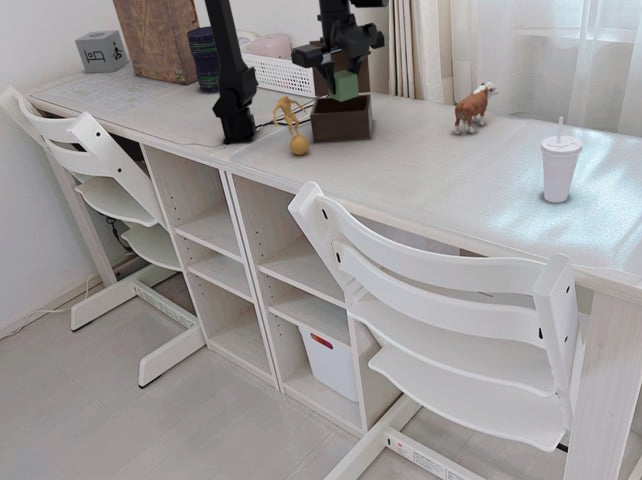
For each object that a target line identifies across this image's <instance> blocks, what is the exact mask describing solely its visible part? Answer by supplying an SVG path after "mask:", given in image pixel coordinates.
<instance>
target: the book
mask: <svg viewBox="0 0 642 480" xmlns="http://www.w3.org/2000/svg"><path fill="white" fill-rule="evenodd" d="M112 2H113V6H114V9H115V13H116V16H117V19H118V22H119V25H120V29H121V32H122V37H123V39H124V42H125V45H126V48H127V51H128V55H129V58H130V61H131V65H132V67H133V71H134V74H135V76H136V77H141V78H142V77H143V78H148V79H153V80H159V81H165V82H168V83H169V82H170V83H176V84H181V85H190V84H193V83H194V82H198V80H197V75H196V66H195V62H194V58H193V56H192V54H191V50H190V47H189V42H188V37H187V32H189V31H191V30H193V29H197V28H201V26H200V21H199V17H198V12H197V8H196V4H195V0H112ZM192 21H196V23H192Z"/></svg>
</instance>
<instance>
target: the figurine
mask: <svg viewBox="0 0 642 480" xmlns="http://www.w3.org/2000/svg"><path fill="white" fill-rule="evenodd" d="M292 104H296V105H297V107H299V108H300V109H301V110H303V112H304V113H305V114H307V111H306V110H305V108H304V107H303V106H302V105H301V104H300V103H299V102H298V101H297V100H294V99H291V98H289V96H288V95H285V96H282V97H279V98H278V100H277V104H276V105H275V106H274V108H273V109H272V115H273V121H274V127H279V122H278V121H277V114H276V112H277V111H278V110H279V109H281V110H282V112H283V113H284V115H283V116H282V117H283V120H284V121H285V122H286V124H287V125H288V131H289V133H290V135H291V139H290V140H289V148H290V151H291V152H292V153H293V154H295V155H298V156H301V155H304V154H306V153H307V151H308V150H309V147H310V142H309V140H308V138H307V137H306V136H305V135H303V134H302V133H301V132H300V131H299V130H298V127H299V124H300V120H299V119H298V118H297V116H296V114H295V112H294V111H292ZM293 123H295V124H294V125H293ZM293 127H294V131H295V133H296V134H294V132H293V130H292V129H293Z"/></svg>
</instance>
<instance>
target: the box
mask: <svg viewBox="0 0 642 480" xmlns="http://www.w3.org/2000/svg"><path fill="white" fill-rule="evenodd" d="M371 95H372V94H371V93H363V94H359V96H357V97H354V98H351V99H348V100H345V101H342V102H340V101H338V100H336V99H333V98H331V97H330V96H322V97H316V98H315V99H314V102H313V105H312V108H311V110H310V113H309V119H310V126H311V133H312V140H313V141H312V142H313V144H314V143H331V142H345V141H346V142H347V141H361V140H371V139H372V131H373V129H372V128H373V122H374V120H373V108H372V96H371Z"/></svg>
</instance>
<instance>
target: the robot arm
mask: <svg viewBox="0 0 642 480" xmlns="http://www.w3.org/2000/svg"><path fill="white" fill-rule="evenodd" d="M389 3H390V0H318V6H319V14H316V19H317V21H318V22H320V24H321V30H322V33H321V34H322V36H321V37H319V40H320V43H322V44H324V46H321V47H316V46H313V45H310V44H309V43H308V44H304V45H300V46H296V47H293V48H292V51H291V53H290V59H291V64H293V65H296V66H299V67H300V68H303V69H312V67H316V68H317V70H318V71H319V73H320V74H321V76H322V77H323V79H324V81H325V83H326V85H327V86H328V88H329V90H330V92H331V93H332V94H333V95H336V85H335V78H334V71H333V69H334V66H335V64H336V63H335V62H332V61H331V55H332V54H336V53H339V52H344V53H345V60H346V66H347V71H349V72H352V73H355V74H357V79H358V75H359V71H360V67H361V65H362V62H363V60H364V59H365V58H366V57H367V56H368V57H369V56H371V54H372V51H371V50H370V48H371V49H372V50H377V49H381V48H384V47H386V36H385V34H384V32H383V31H382V30H379V29H378V28H377V25H376V24H375V23H374V22H368V23H365V24H362V25H358V24H357V20H356V19H357V18H356V16H355V13H353V12H351V5H353V6H354V8H355V9H368V8H369V9H372V8H373V9H374V8H377V9H378V8H387V7H388V5H389ZM204 4H205V5H204V6H205V9H206V13H207V17H208V21H209V26H211V29H212V33H213V38H214V42H215V46H216V50H217V54H218V58H219V62H220V71H219V78H218V87H219V93H218V95H219V97H218V99H217V100H216V102H215V103H214V104H213V105H212V108H211V110H212V112H213V114H214V116H215V117H216V118H217V119H220V123H221V127H222V132H223V137H224V138H223V140H222V143H223V144H236V143H249V142H252V141H253V139H254V137H255V135H256V133H257V127H256V121H255V117H254V114H253V113H251V109H250V107H249V106H251V105H252V104H253V100H254V98H255V97H256V95H257V93H258V92H257V91H258V86H259V85H260V84H259V81H258V80H257V76H256V68H255V66H250V67H249V66H248V65H247V64H246V62H245V61H244V59H243V55H242V51H241V45H240V43H239V38H238V33H237V28H236V24H235V19H234V16H233V11H232V6H231V2H230V0H204ZM332 48H334V49H332ZM331 49H332V50H331Z"/></svg>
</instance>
